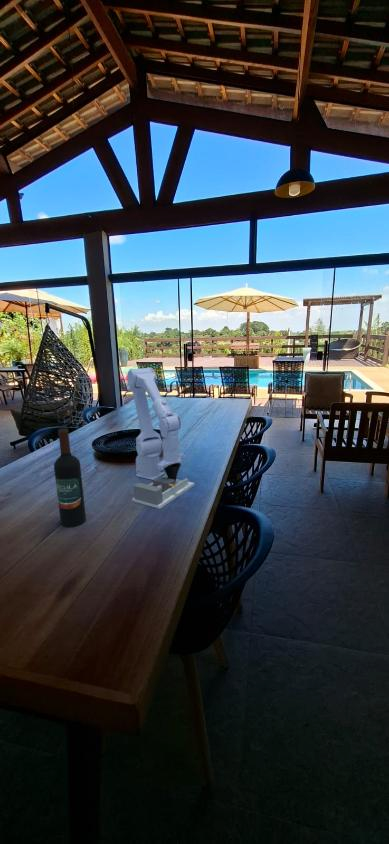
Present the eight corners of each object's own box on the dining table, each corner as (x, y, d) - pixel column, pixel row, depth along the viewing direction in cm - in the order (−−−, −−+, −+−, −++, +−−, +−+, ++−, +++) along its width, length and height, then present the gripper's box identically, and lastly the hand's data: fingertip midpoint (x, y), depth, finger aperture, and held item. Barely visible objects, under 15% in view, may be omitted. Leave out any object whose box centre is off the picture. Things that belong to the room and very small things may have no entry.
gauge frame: (132, 501, 129) (131, 485, 127) (169, 479, 147) (168, 465, 145) (159, 508, 122) (158, 492, 121) (194, 485, 140) (194, 470, 139)
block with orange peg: (148, 493, 132) (147, 482, 131) (160, 486, 137) (159, 476, 136) (169, 498, 127) (169, 488, 126) (180, 491, 133) (180, 480, 132)
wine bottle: (90, 517, 118) (81, 427, 111) (76, 528, 111) (65, 433, 104) (71, 513, 120) (60, 425, 113) (55, 525, 113) (43, 432, 106)
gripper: (168, 454, 127) (169, 491, 130) (190, 443, 139) (191, 477, 142) (152, 452, 130) (154, 487, 134) (175, 441, 142) (176, 474, 145)
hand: (172, 482), depth 138 cm, fingers closed
